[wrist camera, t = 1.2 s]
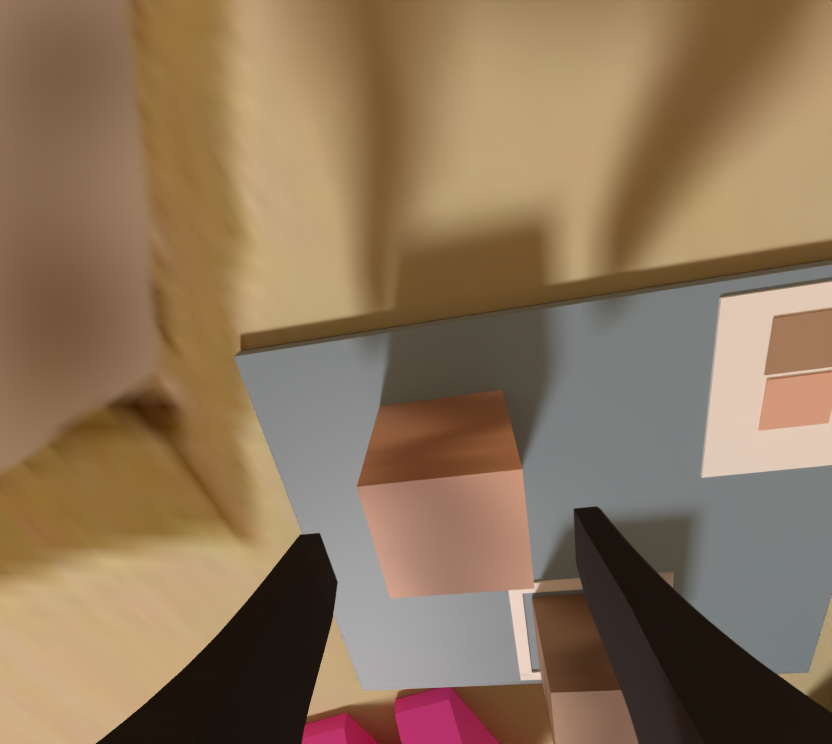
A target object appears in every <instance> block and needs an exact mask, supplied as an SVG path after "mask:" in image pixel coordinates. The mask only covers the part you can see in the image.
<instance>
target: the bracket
mask: <svg viewBox="0 0 832 744" xmlns="http://www.w3.org/2000/svg"><path fill="white" fill-rule="evenodd" d="M395 718H396V722H397V726H398V730H399V734H400V738H401V742H402V744H499V742H498V741H497V740H496V739H495V738H494V737H493V735H492V734H491V733H490V732H489V731H488V730H487V728H486V727H485V726H484V725H483V724H482V723H481V721H480V720H479V719H478V718H477V717H476V716H475V714H474V713H473V712H472V711H471V710H470V709H469V707H468V706H467V705H466V704H465V703H464V702H463V700H462V699H461V698H460V697H459V696H458V695H457V693H456V692H455V691H454V690H453V689H452V688H451V687H442V688H436V689H432V690H428V691H425V692H421V693H417V694H414V695H410V696H406V697H403V698H399V699H396V704H395ZM302 744H378V743H377V742H376V741H375V740H374V739H373V738H372V737H371V736H370V735H369V734H368V733H367V732H366V731H365V730H364V729H363V728H362V727H361V726H360V725H359V724H358V723H356V722H355V721H354V720H353V719H352V718H351V717H350V716H349V715H348V714H347V713H344V714H341V715H337V716H333V717H330V718H326V719H322V720H319V721H315V722H312V723H308V724H305V727H304V733H303V738H302Z"/></svg>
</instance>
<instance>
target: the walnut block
mask: <svg viewBox="0 0 832 744" xmlns="http://www.w3.org/2000/svg"><path fill="white" fill-rule="evenodd" d="M532 604H533V614H534V623H535V632H536V642H537V651H538V661H539V668H540V673H541V679H542V684H543V690H544V695H545V700H546V706H547V711H548V717H549V722H550V727H551V733H552V738H553V744H639V743H638V740H637V737H636V733H635V730H634V727H633V723H632V720H631V717H630V714H629V711H628V708H627V705H626V702H625V699H624V696H623V694H622V691H621V688H620V686H619V683H618V681H617V678H616V676H615V673H614V671H613V668H612V665H611V663H610V660H609V658H608V655H607V653H606V650H605V648H604V645H603V643H602V640H601V637H600V635H599V632H598V630H597V627H596V625H595V622H594V619H593V617H592V614H591V612H590V609H589V606H588V604H587V601H586V598H585V594H569V595H554V596H540V597H532Z"/></svg>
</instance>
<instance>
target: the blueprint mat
mask: <svg viewBox="0 0 832 744" xmlns="http://www.w3.org/2000/svg"><path fill="white" fill-rule="evenodd" d="M234 358H235V360H236V363H237V366H238V368H239V371H240V373H241V376H242V379H243V381H244V384H245V386H246V389H247V391H248V394H249V397H250V399H251V402H252V404H253V407H254V410H255V412H256V415H257V417H258V420H259V423H260V425H261V428H262V430H263V433H264V436H265V438H266V441H267V443H268V446H269V448H270V451H271V454H272V456H273V459H274V461H275V464H276V467H277V469H278V472H279V474H280V477H281V480H282V482H283V485H284V487H285V490H286V493H287V495H288V498H289V500H290V503H291V506H292V508H293V511H294V513H295V516H296V518H297V521H298V524H299V526H300V529H301V531H302V534H313V533H320V535H321V537H322V540H323V543H324V546H325V548H326V551H327V554H328V557H329V559H330V562H331V565H332V567H333V570H334V573H335V576H336V578H337V581H338V584H337V592H336V599H335V606H334V612H333V614H334V617H335V620H336V622H337V625H338V627H339V630H340V633H341V635H342V638H343V640H344V643H345V646H346V648H347V651H348V653H349V656H350V658H351V661H352V664H353V666H354V669H355V671H356V674H357V677H358V679H359V682H360V684H361V687H362V690H363V691H369V690H393V689H418V688H442V687H467V686H491V685H515V684H540V683H542V679H541V673H540V668H539V661H538V651H537V642H536V632H535V623H534V614H533V604H532V597H540V596H554V595H569V594H584V591H583V587H582V583H581V580H580V576H579V572H578V569H577V565H576V553H575V530H574V508H584V507H595V506H597V507H599V508H600V509H601V510H602V511H603V512H604V514H605V515H606V516H607V517H608V519H609V520H610V521H611V522H612V523H613V525H614V526H615V527H616V528H617V529H618V530H619V532H620V533H621V534H622V535H623V536H624V537H625V539H626V540H627V541H628V542H629V543H630V544H631V545H632V546H633V547H634V549H635V550H636V551H637V552H638V553H639V554H640V555H641V556H642V557H643V558H644V559H645V560H646V561H647V562H648V563H649V564H650V565H651V566H652V567H653V568H654V570H655V571H656V572H657V573H658V574H659V575H660V576H661V577H662V578H663V579H664V580H665V581H666V582H667V583H668V584H669V585H670V586H672V587H673V588H674V589H675V590H676V591H677V592H678V593H679V594H680V595H681V596H682V597H683V598H684V599H685V600H686V601H687V602H689V603H690V604H691V605H692V606H693V607H694V608H695V609H696V610H697V611H699V612H700V613H701V614H702V615H703V616H704V617H705V618H707V619H708V620H709V621H710V622H711V623H712V624H714V625H715V626H716V627H717V628H718V629H720V630H721V631H722V632H723V633H724V634H725V635H727V636H728V637H729V638H730V639H732V640H733V641H734V642H735V643H737V644H738V645H739V646H740V647H742V648H743V649H744V650H745V651H747V652H748V653H749V654H750V655H752V656H753V657H754V658H756V659H757V660H758V661H760V662H761V663H762V664H764V665H765V666H766V667H768V668H769V669H771V670H772V671H773V672H775V673H776V674H784V673H808V672H809V668H810V665H811V662H812V659H813V655H814V652H815V649H816V645H817V642H818V639H819V635H820V632H821V629H822V625H823V622H824V619H825V615H826V612H827V609H828V606H829V602H830V599H831V596H832V259H831V260H824V261H818V262H812V263H805V264H799V265H792V266H786V267H779V268H773V269H766V270H760V271H754V272H747V273H741V274H734V275H728V276H721V277H715V278H708V279H702V280H696V281H689V282H683V283H676V284H670V285H663V286H657V287H650V288H644V289H638V290H631V291H625V292H618V293H612V294H605V295H599V296H592V297H586V298H580V299H573V300H567V301H560V302H554V303H547V304H541V305H534V306H528V307H522V308H515V309H509V310H502V311H496V312H489V313H483V314H476V315H470V316H464V317H457V318H451V319H444V320H438V321H431V322H425V323H418V324H412V325H406V326H399V327H393V328H386V329H380V330H373V331H367V332H360V333H354V334H348V335H341V336H335V337H328V338H322V339H315V340H309V341H302V342H296V343H290V344H283V345H277V346H270V347H264V348H257V349H251V350H244V351H240V352H239V353H237V354H236V355H235V356H234ZM498 390H503V394H504V398H505V402H506V406H507V410H508V414H509V418H510V422H511V426H512V430H513V434H514V438H515V442H516V446H517V450H518V454H519V458H520V462H521V466H522V470H523V480H524V490H525V500H526V510H527V520H528V530H529V539H530V549H531V559H532V569H533V579H534V589H521V590H506V591H492V592H478V593H463V594H449V595H434V596H420V597H406V598H391V599H390V596H389V593H388V590H387V586H386V583H385V580H384V576H383V573H382V570H381V566H380V563H379V560H378V556H377V553H376V550H375V546H374V543H373V540H372V536H371V533H370V530H369V526H368V523H367V520H366V516H365V513H364V510H363V506H362V503H361V500H360V496H359V493H358V490H357V484H358V480H359V477H360V473H361V470H362V466H363V463H364V459H365V455H366V452H367V448H368V445H369V441H370V438H371V434H372V431H373V427H374V424H375V420H376V417H377V413H378V409H379V406H384V405H391V404H399V403H407V402H414V401H422V400H429V399H437V398H445V397H452V396H460V395H468V394H475V393H483V392H491V391H498Z"/></svg>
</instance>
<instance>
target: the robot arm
mask: <svg viewBox="0 0 832 744" xmlns="http://www.w3.org/2000/svg"><path fill="white" fill-rule="evenodd" d="M574 530H575V553H576V565H577V569H578V572H579V576H580V580H581V583H582V587H583V591H584V594H585V598H586V601H587V604H588V606H589V609H590V612H591V614H592V617H593V619H594V622H595V625H596V627H597V630H598V632H599V635H600V637H601V640H602V643H603V645H604V648H605V650H606V653H607V655H608V658H609V660H610V663H611V665H612V668H613V671H614V673H615V676H616V678H617V681H618V683H619V686H620V688H621V691H622V694H623V696H624V699H625V702H626V705H627V708H628V711H629V714H630V717H631V720H632V723H633V727H634V730H635V733H636V737H637V740H638V743H639V744H832V713H831V712H830V711H828V710H827V709H825V708H824V707H822V706H821V705H819V704H818V703H816V702H815V701H813V700H812V699H810V698H809V697H808V696H806V695H805V694H803V693H802V692H801V691H799V690H798V689H797V688H795V687H794V686H792V685H791V684H790V683H788V682H787V681H786V680H784V679H783V678H781V677H780V676H779V675H777V674H776V673H775V672H773V671H772V670H771V669H769V668H768V667H766V666H765V665H764V664H762V663H761V662H760V661H758V660H757V659H756V658H754V657H753V656H752V655H750V654H749V653H748V652H747V651H745V650H744V649H743V648H742V647H740V646H739V645H738V644H737V643H735V642H734V641H733V640H732V639H730V638H729V637H728V636H727V635H725V634H724V633H723V632H722V631H721V630H720V629H718V628H717V627H716V626H715V625H714V624H712V623H711V622H710V621H709V620H708V619H707V618H705V617H704V616H703V615H702V614H701V613H700V612H699V611H697V610H696V609H695V608H694V607H693V606H692V605H691V604H690V603H689V602H687V601H686V600H685V599H684V598H683V597H682V596H681V595H680V594H679V593H678V592H677V591H676V590H675V589H674V588H673V587H672V586H670V585H669V584H668V583H667V582H666V581H665V580H664V579H663V578H662V577H661V576H660V575H659V574H658V573H657V572H656V571H655V570H654V568H653V567H652V566H651V565H650V564H649V563H648V562H647V561H646V560H645V559H644V558H643V557H642V556H641V555H640V554H639V553H638V552H637V551H636V550H635V549H634V547H633V546H632V545H631V544H630V543H629V542H628V541H627V540H626V539H625V537H624V536H623V535H622V534H621V533H620V532H619V530H618V529H617V528H616V527H615V526H614V525H613V523H612V522H611V521H610V520H609V519H608V517H607V516H606V515H605V514H604V512H603V511H602V510H601V509H600V508H599V507H597V506H595V507H584V508H574ZM337 584H338V581H337V578H336V576H335V573H334V570H333V567H332V565H331V562H330V559H329V557H328V554H327V551H326V548H325V546H324V543H323V540H322V537H321V535H320V533H313V534H303V535H300V536H299V537H298V538H297V539H296V541H295V542H294V543H293V544H292V546H291V547H290V548H289V549H288V551H287V552H286V553H285V554H284V556H283V557H282V558H281V560H280V561H279V562H278V563H277V565H276V566H275V567H274V568H273V570H272V571H271V572H270V574H269V575H268V576H267V577H266V579H265V580H264V581H263V582H262V583H261V585H260V586H259V587H258V588H257V590H256V591H255V592H254V593H253V595H252V596H251V597H250V598H249V599H248V601H247V602H246V603H245V604H244V605H243V606H242V608H241V609H240V610H239V611H238V612H237V613H236V614H235V616H234V617H233V618H232V619H231V620H230V621H229V622H228V624H227V625H226V626H225V627H224V628H223V629H222V630H221V631H220V633H219V634H218V635H217V636H216V637H215V638H214V639H213V640H212V641H211V642H210V643H209V644H208V645H207V646H206V647H205V648H204V649H203V650H202V651H201V652H200V653H199V654H198V655H197V656H196V657H195V658H194V659H193V660H192V661H191V662H190V663H189V664H188V665H187V666H186V667H185V668H184V669H183V670H182V671H181V672H180V673H179V674H178V675H177V676H175V677H174V678H173V679H172V680H171V681H170V682H169V683H168V684H167V685H165V686H164V687H163V688H162V689H161V690H160V691H159V692H158V693H157V694H155V695H154V696H153V697H152V698H151V699H150V700H149V701H148V702H147V703H145V704H144V705H143V706H142V707H141V708H140V709H138V710H137V711H136V712H135V713H133V714H132V715H131V716H130V717H129V718H127V719H126V720H125V721H124V722H123V723H121V724H120V725H119V726H118V727H116V728H115V729H114V730H113V731H111V732H110V733H109V734H108V735H106V736H105V737H104V738H102V739H101V740H100V741H99V742H97V743H96V744H302V738H303V733H304V727H305V723H306V718H307V714H308V710H309V705H310V702H311V698H312V694H313V690H314V687H315V683H316V679H317V676H318V672H319V668H320V664H321V661H322V657H323V653H324V650H325V646H326V642H327V638H328V634H329V631H330V627H331V623H332V618H333V612H334V606H335V599H336V592H337Z"/></svg>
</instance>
